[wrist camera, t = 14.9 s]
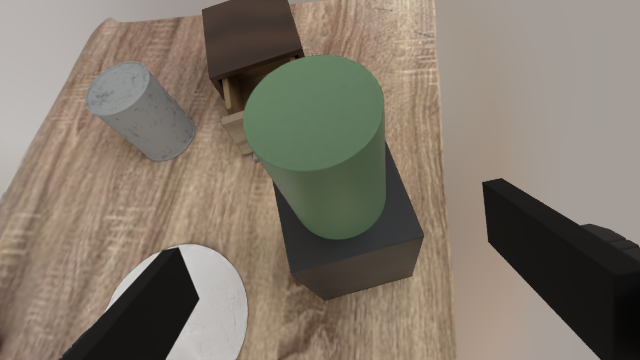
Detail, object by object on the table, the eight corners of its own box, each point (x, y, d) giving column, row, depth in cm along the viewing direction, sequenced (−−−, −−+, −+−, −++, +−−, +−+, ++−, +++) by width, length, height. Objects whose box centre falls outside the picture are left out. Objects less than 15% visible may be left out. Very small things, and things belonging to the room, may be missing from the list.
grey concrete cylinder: (152, 114, 61) (100, 63, 50) (200, 113, 59) (158, 59, 48) (134, 161, 56) (73, 116, 46) (185, 161, 54) (135, 114, 44)
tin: (369, 144, 31) (359, 38, 21) (399, 224, 27) (406, 143, 17) (286, 169, 32) (234, 78, 21) (304, 251, 28) (252, 190, 17)
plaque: (98, 446, 38) (88, 449, 37) (97, 277, 48) (90, 274, 47) (267, 378, 39) (263, 379, 38) (232, 226, 49) (228, 222, 48)
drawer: (331, 159, 49) (321, 127, 42) (248, 184, 49) (225, 157, 42) (302, 64, 58) (290, 25, 51) (233, 86, 59) (212, 50, 52)
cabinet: (315, 94, 56) (302, 47, 47) (236, 119, 56) (208, 77, 48) (296, 32, 63) (282, -18, 55) (226, 55, 64) (201, 9, 55)
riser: (382, 195, 46) (380, 126, 32) (412, 275, 41) (424, 236, 27) (304, 218, 46) (268, 161, 32) (324, 301, 41) (290, 274, 27)
